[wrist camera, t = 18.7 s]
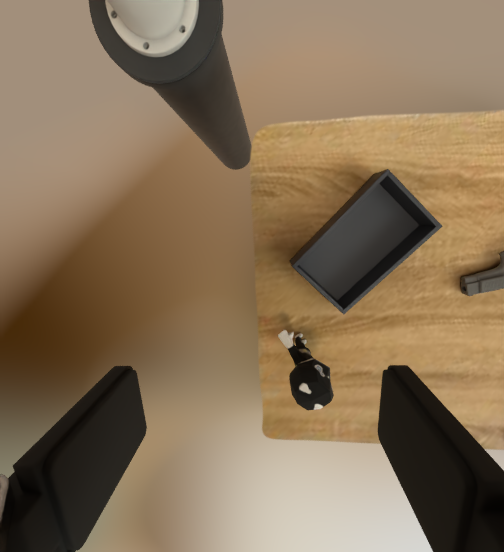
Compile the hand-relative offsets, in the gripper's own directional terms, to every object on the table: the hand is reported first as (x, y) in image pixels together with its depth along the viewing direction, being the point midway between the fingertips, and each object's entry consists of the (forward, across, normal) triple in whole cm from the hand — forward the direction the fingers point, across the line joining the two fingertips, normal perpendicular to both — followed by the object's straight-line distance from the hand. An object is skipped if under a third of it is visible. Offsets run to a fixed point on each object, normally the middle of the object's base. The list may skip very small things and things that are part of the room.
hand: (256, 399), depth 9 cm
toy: (+34, -6, +16) cm, 37 cm away
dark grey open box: (+33, -14, -1) cm, 36 cm away
